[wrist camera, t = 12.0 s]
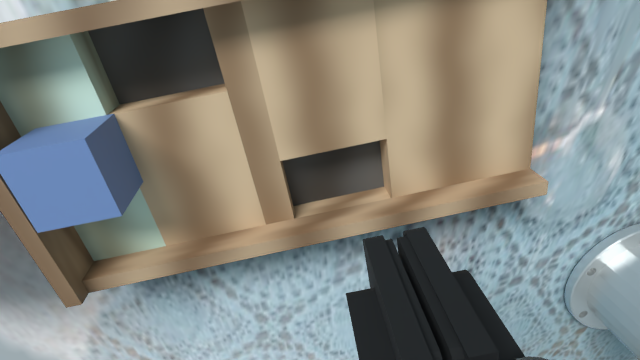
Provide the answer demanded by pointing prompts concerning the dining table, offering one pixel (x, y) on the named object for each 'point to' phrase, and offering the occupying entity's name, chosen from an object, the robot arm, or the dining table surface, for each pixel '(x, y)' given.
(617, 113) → the dining table surface
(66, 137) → the blue block
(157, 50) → the trap board
